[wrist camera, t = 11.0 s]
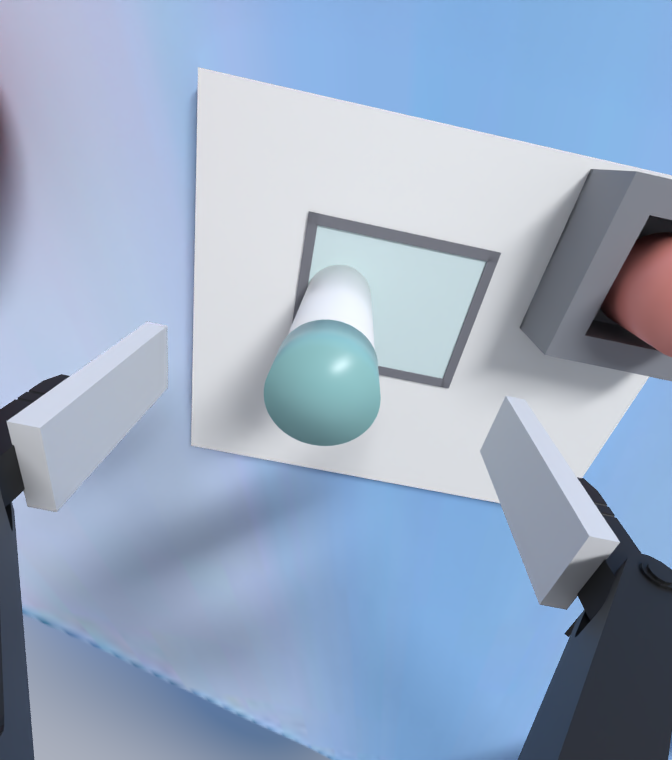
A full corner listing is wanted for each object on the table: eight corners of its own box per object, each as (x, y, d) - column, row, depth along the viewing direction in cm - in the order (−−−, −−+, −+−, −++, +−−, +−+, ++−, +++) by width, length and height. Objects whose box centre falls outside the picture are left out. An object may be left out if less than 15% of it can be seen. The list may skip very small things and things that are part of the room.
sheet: (551, 502, 34) (558, 515, 33) (196, 436, 32) (190, 446, 31) (748, 195, 22) (770, 197, 21) (206, 71, 21) (196, 66, 20)
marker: (364, 334, 26) (366, 454, 16) (300, 322, 26) (258, 435, 15) (379, 270, 24) (393, 359, 13) (310, 256, 24) (269, 335, 13)
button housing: (654, 355, 26) (701, 387, 22) (519, 327, 25) (544, 355, 22) (752, 205, 21) (829, 215, 18) (590, 169, 21) (636, 171, 17)
